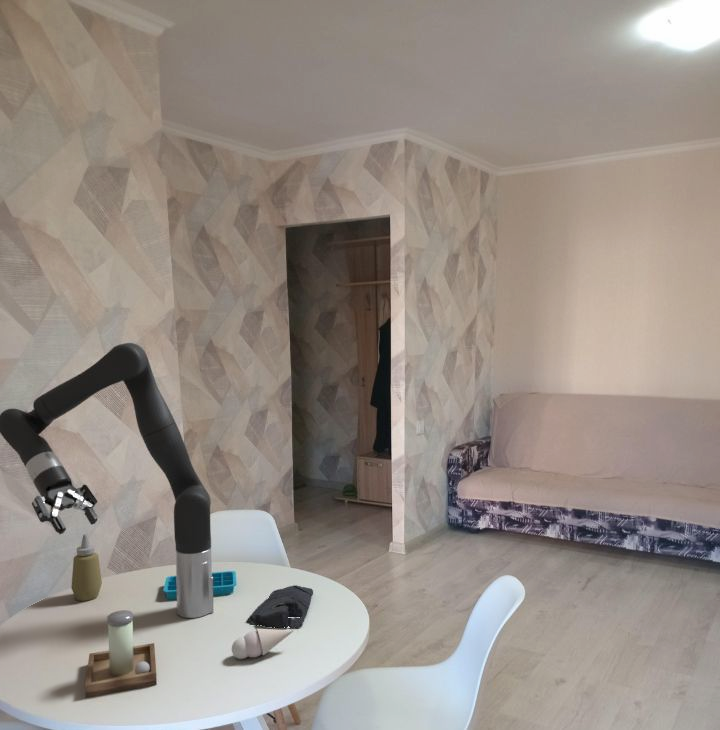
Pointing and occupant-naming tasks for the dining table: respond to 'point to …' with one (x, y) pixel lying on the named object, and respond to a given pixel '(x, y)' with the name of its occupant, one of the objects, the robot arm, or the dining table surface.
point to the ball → (142, 668)
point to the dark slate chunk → (283, 608)
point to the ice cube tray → (221, 584)
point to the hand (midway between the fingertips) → (79, 527)
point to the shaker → (120, 642)
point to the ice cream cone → (258, 642)
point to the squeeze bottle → (86, 572)
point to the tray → (105, 683)
